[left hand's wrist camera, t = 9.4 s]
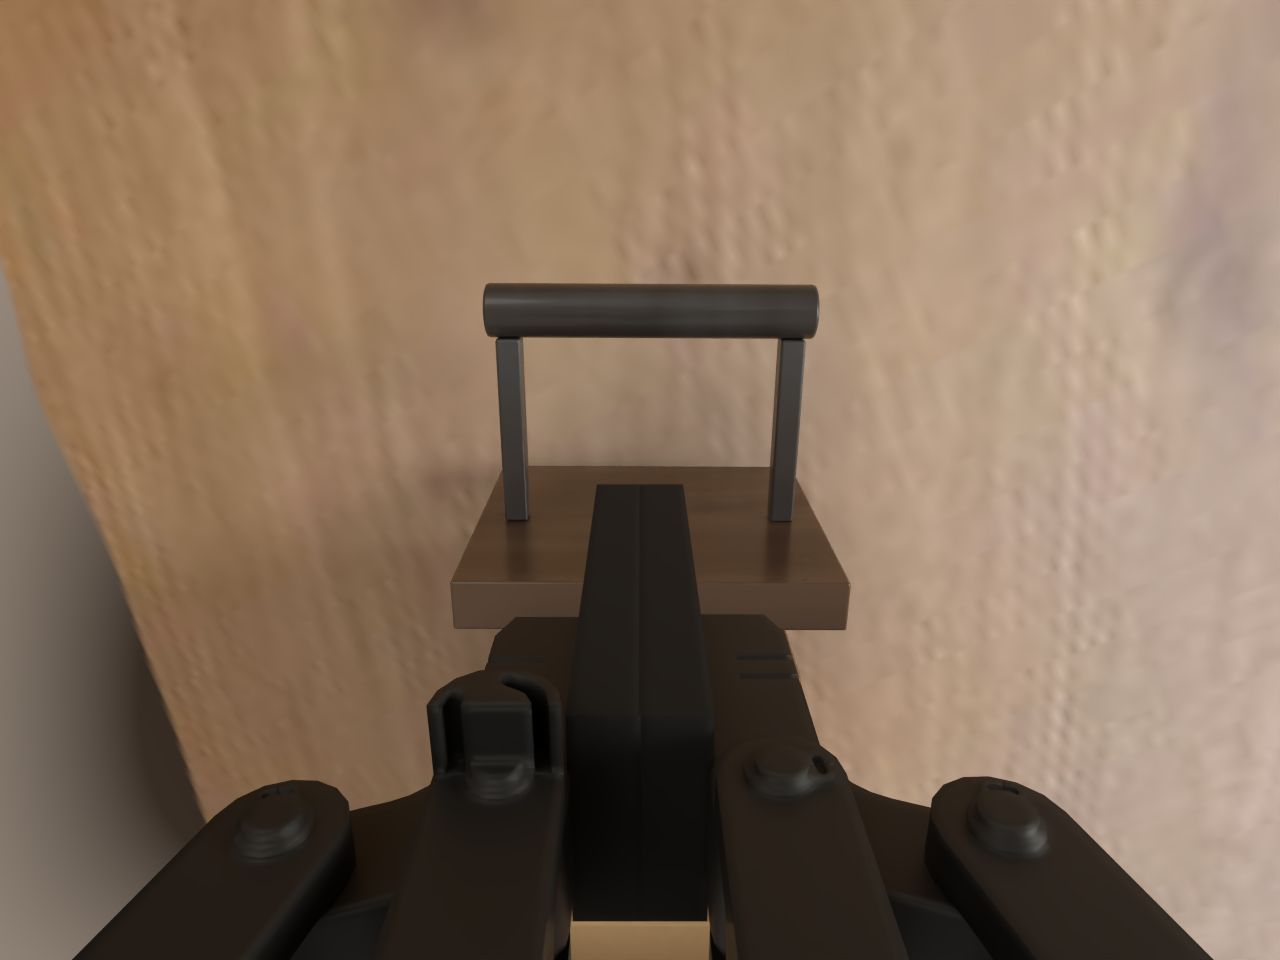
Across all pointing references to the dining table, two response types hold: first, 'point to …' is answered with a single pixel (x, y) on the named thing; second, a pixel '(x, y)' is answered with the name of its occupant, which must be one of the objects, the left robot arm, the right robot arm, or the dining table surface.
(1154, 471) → the dining table surface
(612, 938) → the cabinet
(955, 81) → the dining table surface
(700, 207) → the dining table surface
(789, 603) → the drawer
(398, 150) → the dining table surface
